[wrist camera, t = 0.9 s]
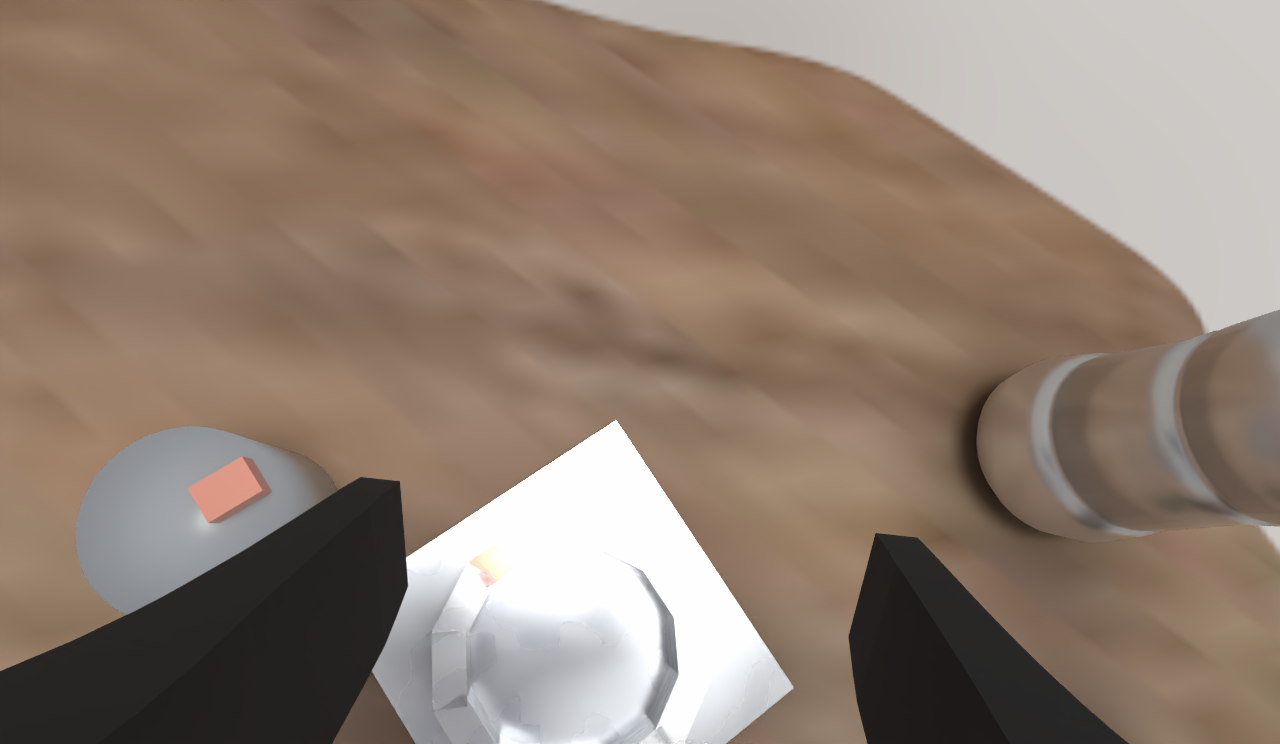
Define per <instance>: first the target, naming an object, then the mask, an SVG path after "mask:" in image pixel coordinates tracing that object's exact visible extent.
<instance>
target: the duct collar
mask: <svg viewBox="0 0 1280 744" xmlns="http://www.w3.org/2000/svg"><path fill="white" fill-rule="evenodd" d="M406 564H407V576H408V588H407V591H406V593H405V596H404V599H403V601H402V604H401V607H400V609H399V612H398V615H397V617H396V620H395V622H394V625H393V627H392V630H391V632H390V635H389V637H388V640H387V642H386V644H385V647H384V649H383V651H382V652H381V654H380V656H379V658H378V660H377V662H376V664H375V666H374V668H373V669H372V673H373V674H374V676H375V678H376V679H377V681H378V682H379V684H380V686H381V687H382V689H383V691H384V692H385V694H386V696H387V697H388V699H389V701H390V702H391V704H392V706H393V707H394V709H395V710H396V712H397V714H398V715H399V717H400V719H401V720H402V722H403V724H404V725H405V727H406V729H407V730H408V732H409V734H410V735H411V737H412V738H413V740H414V742H415V743H416V744H726V743H727V742H728V741H729V740H731V739H732V738H733V737H734V736H736V735H737V734H738V733H739V732H740V731H742V730H743V729H744V728H745V727H747V726H748V725H749V724H750V723H751V722H753V721H754V720H755V719H756V718H758V717H759V716H760V715H761V714H763V713H764V712H765V711H766V710H767V709H769V708H770V707H771V706H772V705H774V704H775V703H776V702H777V701H778V700H780V699H781V698H782V697H783V696H785V695H786V694H787V693H788V692H789V691H791V690H792V689H793V688H794V687H793V686H792V684H791V683H790V681H789V680H788V678H787V677H786V675H785V674H784V672H783V671H782V669H781V668H780V666H779V665H778V663H777V662H776V660H775V659H774V657H773V656H772V654H771V653H770V651H769V650H768V648H767V647H766V645H765V644H764V642H763V641H762V639H761V638H760V636H759V635H758V633H757V632H756V630H755V629H754V627H753V626H752V624H751V623H750V621H749V619H748V618H747V616H746V615H745V613H744V612H743V610H742V609H741V607H740V606H739V604H738V603H737V601H736V600H735V598H734V597H733V595H732V594H731V592H730V591H729V589H728V588H727V586H726V585H725V583H724V582H723V580H722V579H721V577H720V576H719V574H718V573H717V571H716V570H715V568H714V567H713V565H712V564H711V562H710V561H709V559H708V558H707V556H706V555H705V553H704V552H703V550H702V549H701V547H700V546H699V544H698V543H697V541H696V540H695V538H694V537H693V535H692V534H691V532H690V531H689V529H688V528H687V526H686V525H685V523H684V522H683V520H682V519H681V517H680V516H679V514H678V513H677V511H676V510H675V508H674V507H673V505H672V504H671V502H670V501H669V499H668V498H667V496H666V495H665V493H664V492H663V490H662V489H661V487H660V486H659V484H658V483H657V481H656V480H655V478H654V477H653V475H652V473H651V472H650V470H649V469H648V467H647V466H646V464H645V463H644V461H643V460H642V458H641V457H640V455H639V454H638V452H637V451H636V449H635V448H634V446H633V445H632V443H631V442H630V440H629V439H628V437H627V436H626V434H625V433H624V431H623V430H622V428H621V427H620V425H619V424H618V422H617V421H614V422H613V423H611V424H610V425H608V426H607V427H605V428H604V429H602V430H601V431H599V432H597V433H596V434H594V435H593V436H591V437H590V438H588V439H587V440H585V441H584V442H582V443H581V444H579V445H578V446H576V447H575V448H573V449H572V450H570V451H568V452H567V453H565V454H564V455H562V456H561V457H559V458H558V459H556V460H555V461H553V462H552V463H550V464H549V465H547V466H546V467H544V468H543V469H541V470H539V471H538V472H536V473H535V474H533V475H532V476H530V477H529V478H527V479H526V480H524V481H523V482H521V483H520V484H518V485H517V486H515V487H514V488H512V489H510V490H509V491H507V492H506V493H504V494H503V495H501V496H500V497H498V498H497V499H495V500H494V501H492V502H491V503H489V504H488V505H486V506H485V507H483V508H481V509H480V510H478V511H477V512H475V513H474V514H472V515H471V516H469V517H468V518H466V519H465V520H463V521H462V522H460V523H459V524H457V525H455V526H454V527H452V528H451V529H449V530H448V531H446V532H445V533H443V534H442V535H440V536H439V537H437V538H436V539H434V540H433V541H431V542H430V543H428V544H426V545H425V546H423V547H422V548H420V549H419V550H417V551H416V552H414V553H413V554H411V555H410V556H408V557H407V558H406Z"/></svg>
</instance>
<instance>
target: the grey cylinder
mask: <svg viewBox="0 0 1280 744" xmlns="http://www.w3.org/2000/svg"><path fill="white" fill-rule="evenodd" d="M337 491H338V490H337V488H336V486H335V484H334V482H333V480H332V479H331V478H330V476H329V475H328V474H327V473H326V472H325V471H324V470H323V469H322V468H321V467H320V466H319V465H318V464H316V463H315V462H314V461H312V460H310V459H308V458H307V457H304V456H302V455H300V454H297V453H294V452H291V451H287V450H284V449H281V448H278V447H274V446H271V445H268V444H265V443H261V442H258V441H255V440H252V439H248V438H245V437H242V436H239V435H235V434H232V433H229V432H225V431H222V430H218V429H214V428H207V427H190V426H187V427H178V428H172V429H167V430H163V431H159V432H156V433H154V434H151V435H148V436H146V437H144V438H142V439H140V440H138V441H135V442H134V443H132V444H131V445H129V446H128V447H126V448H124V449H123V450H122V451H120V452H119V453H118V454H117V455H115V456H114V457H113V458H112V459H111V460H110V461H109V462H108V463H107V464H106V465H105V466H104V467H103V468H102V469H101V471H100V472H99V473H98V474H97V476H96V477H95V478H94V480H93V481H92V483H91V485H90V487H89V488H88V490H87V492H86V494H85V496H84V499H83V501H82V503H81V507H80V510H79V514H78V518H77V524H76V548H77V555H78V559H79V562H80V566H81V568H82V571H83V573H84V575H85V577H86V579H87V581H88V582H89V583H90V585H91V586H92V588H93V589H94V591H95V592H96V593H97V594H98V595H99V596H100V597H101V598H102V599H103V600H104V601H105V602H107V603H108V604H109V605H111V606H112V607H113V608H115V609H117V610H118V611H120V612H122V613H124V614H126V615H128V614H130V613H132V612H134V611H136V610H138V609H140V608H141V607H143V606H145V605H147V604H149V603H151V602H153V601H155V600H157V599H159V598H161V597H163V596H164V595H166V594H168V593H170V592H172V591H174V590H176V589H177V588H179V587H181V586H182V585H184V584H186V583H188V582H189V581H191V580H193V579H195V578H196V577H198V576H200V575H202V574H203V573H205V572H207V571H209V570H210V569H212V568H214V567H216V566H217V565H219V564H221V563H223V562H224V561H226V560H228V559H230V558H231V557H233V556H235V555H236V554H238V553H240V552H242V551H243V550H245V549H247V548H248V547H250V546H251V545H253V544H255V543H256V542H258V541H259V540H261V539H263V538H264V537H266V536H267V535H269V534H271V533H272V532H274V531H275V530H277V529H279V528H280V527H282V526H283V525H285V524H286V523H288V522H290V521H291V520H293V519H294V518H296V517H298V516H299V515H301V514H302V513H304V512H305V511H307V510H308V509H310V508H312V507H313V506H315V505H316V504H318V503H319V502H321V501H322V500H324V499H326V498H327V497H329V496H330V495H332V494H333V493H335V492H337Z"/></svg>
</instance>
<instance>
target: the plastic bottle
mask: <svg viewBox="0 0 1280 744" xmlns="http://www.w3.org/2000/svg"><path fill="white" fill-rule="evenodd" d="M976 443H977V454H978V459H979V462H980V466H981V470H982V472H983V474H984V476H985V478H986V480H987V483H988V484H989V486H990V487H991V489H992V490H993V492H994V493H995V495H996V496H997V497H998V499H999V500H1000V502H1001V503H1002V504H1003V505H1004V506H1005V507H1006V508H1007V509H1008V510H1009V511H1010V512H1011V513H1012V514H1013V515H1014V516H1016V517H1017V518H1018V519H1020V520H1021V521H1022V522H1024V523H1025V524H1027V525H1029V526H1031V527H1033V528H1035V529H1037V530H1039V531H1042V532H1046V533H1050V534H1054V535H1058V536H1061V537H1065V538H1069V539H1073V540H1077V541H1080V542H1093V543H1101V542H1109V541H1117V540H1124V539H1131V538H1136V537H1141V536H1146V535H1150V534H1154V533H1158V532H1161V531H1168V530H1181V529H1193V528H1206V527H1218V526H1231V525H1244V524H1245V525H1261V526H1280V310H1277V311H1274V312H1271V313H1268V314H1265V315H1262V316H1259V317H1256V318H1253V319H1250V320H1247V321H1244V322H1240V323H1237V324H1235V325H1231V326H1229V327H1227V328H1224V329H1221V330H1219V331H1213V332H1210V333H1207V334H1204V335H1201V336H1198V337H1195V338H1192V339H1189V340H1186V341H1181V342H1175V343H1170V344H1164V345H1158V346H1153V347H1147V348H1141V349H1136V350H1130V351H1124V352H1118V353H1113V354H1109V353H1088V354H1080V355H1072V356H1064V357H1056V358H1049V359H1044V360H1041V361H1039V362H1036V363H1033V364H1031V365H1029V366H1027V367H1026V368H1024V369H1022V370H1021V371H1019V372H1017V373H1016V374H1014V375H1012V376H1011V377H1009V378H1008V379H1006V380H1005V381H1003V382H1002V383H1000V384H999V385H998V386H997V387H996V388H995V390H994V391H993V392H992V393H991V394H990V395H989V397H988V399H987V401H986V403H985V404H984V406H983V408H982V412H981V415H980V418H979V422H978V430H977V441H976Z"/></svg>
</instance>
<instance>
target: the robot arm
mask: <svg viewBox="0 0 1280 744" xmlns="http://www.w3.org/2000/svg"><path fill="white" fill-rule="evenodd" d="M407 588H408V576H407V564H406V552H405V540H404V528H403V515H402V503H401V491H400V481H391V480H382V479H373V478H364V477H360V478H359V479H357V480H355V481H353V482H352V483H350V484H348V485H346V486H345V487H343V488H342V489H340V490H338V491H337V492H335V493H333V494H332V495H330V496H329V497H327V498H326V499H324V500H322V501H321V502H319V503H318V504H316V505H315V506H313V507H312V508H310V509H308V510H307V511H305V512H304V513H302V514H301V515H299V516H298V517H296V518H294V519H293V520H291V521H290V522H288V523H286V524H285V525H283V526H282V527H280V528H279V529H277V530H275V531H274V532H272V533H271V534H269V535H267V536H266V537H264V538H263V539H261V540H259V541H258V542H256V543H255V544H253V545H251V546H250V547H248V548H247V549H245V550H243V551H242V552H240V553H238V554H236V555H235V556H233V557H231V558H230V559H228V560H226V561H224V562H223V563H221V564H219V565H217V566H216V567H214V568H212V569H210V570H209V571H207V572H205V573H203V574H202V575H200V576H198V577H196V578H195V579H193V580H191V581H189V582H188V583H186V584H184V585H182V586H181V587H179V588H177V589H176V590H174V591H172V592H170V593H168V594H166V595H164V596H163V597H161V598H159V599H157V600H155V601H153V602H151V603H149V604H147V605H145V606H143V607H141V608H140V609H138V610H136V611H134V612H132V613H130V614H128V615H126V616H123V617H121V618H119V619H117V620H115V621H113V622H111V623H109V624H107V625H105V626H103V627H101V628H99V629H97V630H94V631H92V632H90V633H88V634H86V635H84V636H82V637H80V638H77V639H75V640H73V641H71V642H69V643H66V644H64V645H62V646H59V647H57V648H54V649H52V650H50V651H47V652H45V653H43V654H40V655H38V656H35V657H33V658H31V659H28V660H26V661H24V662H21V663H19V664H16V665H14V666H12V667H9V668H7V669H5V670H2V671H0V744H332V743H333V741H334V739H335V737H336V735H337V733H338V732H339V730H340V728H341V726H342V724H343V723H344V721H345V719H346V717H347V715H348V713H349V712H350V710H351V708H352V706H353V704H354V703H355V701H356V699H357V697H358V695H359V693H360V692H361V690H362V688H363V686H364V684H365V682H366V680H367V679H368V677H369V675H370V673H371V671H372V669H373V668H374V666H375V664H376V662H377V660H378V658H379V656H380V654H381V652H382V651H383V649H384V647H385V644H386V642H387V640H388V637H389V635H390V632H391V630H392V627H393V625H394V622H395V620H396V617H397V615H398V612H399V609H400V607H401V604H402V601H403V599H404V596H405V593H406V591H407ZM849 644H850V652H851V661H852V669H853V677H854V684H855V691H856V698H857V704H858V708H859V712H860V716H861V720H862V724H863V728H864V732H865V736H866V739H867V743H868V744H1129V743H1127V742H1126V741H1125V740H1124V739H1123V738H1121V737H1120V736H1119V735H1118V734H1116V733H1115V732H1114V731H1113V730H1112V729H1110V728H1109V727H1108V726H1107V725H1106V724H1105V723H1103V722H1102V721H1101V720H1100V719H1099V718H1098V717H1097V716H1095V715H1094V714H1093V713H1092V712H1091V711H1090V710H1088V709H1087V708H1086V707H1085V706H1084V705H1083V704H1082V703H1081V702H1080V701H1079V700H1077V699H1076V698H1075V697H1074V696H1073V695H1072V694H1071V693H1070V692H1069V691H1068V690H1067V689H1066V688H1065V687H1063V686H1062V685H1061V684H1060V683H1059V682H1058V681H1057V680H1056V679H1055V678H1054V677H1053V676H1052V675H1050V674H1049V673H1048V672H1047V671H1046V670H1045V669H1044V668H1043V667H1042V666H1041V665H1040V664H1039V663H1038V662H1037V661H1036V660H1035V659H1034V658H1033V657H1032V656H1031V655H1030V654H1029V653H1028V652H1027V651H1026V650H1025V649H1023V648H1022V647H1021V646H1020V645H1019V644H1018V643H1017V641H1016V640H1015V639H1014V638H1013V637H1012V636H1011V635H1010V634H1009V633H1008V632H1007V631H1006V630H1005V629H1004V628H1003V627H1002V626H1001V625H1000V624H999V623H998V622H997V621H996V620H995V619H994V618H993V617H992V616H991V615H990V614H989V613H988V612H987V611H986V610H985V609H984V608H983V607H982V605H981V604H980V603H979V602H978V601H977V600H976V599H975V598H974V597H973V596H972V595H971V594H970V593H969V592H968V591H967V590H966V588H965V587H964V586H963V585H962V584H961V583H960V582H959V581H958V580H957V579H956V578H955V577H954V576H953V575H952V573H951V572H950V571H949V570H948V569H947V568H946V567H945V566H944V565H943V564H942V563H941V562H940V561H939V559H938V558H937V557H936V556H935V555H934V554H933V553H932V552H931V551H930V550H929V549H928V548H927V547H926V546H925V545H924V544H923V543H922V542H921V541H920V540H919V539H918V538H915V537H906V536H897V535H888V534H878V533H876V534H875V538H874V542H873V545H872V549H871V553H870V557H869V561H868V565H867V568H866V572H865V576H864V580H863V584H862V587H861V591H860V595H859V599H858V603H857V606H856V610H855V614H854V618H853V622H852V625H851V629H850V633H849Z"/></svg>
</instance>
